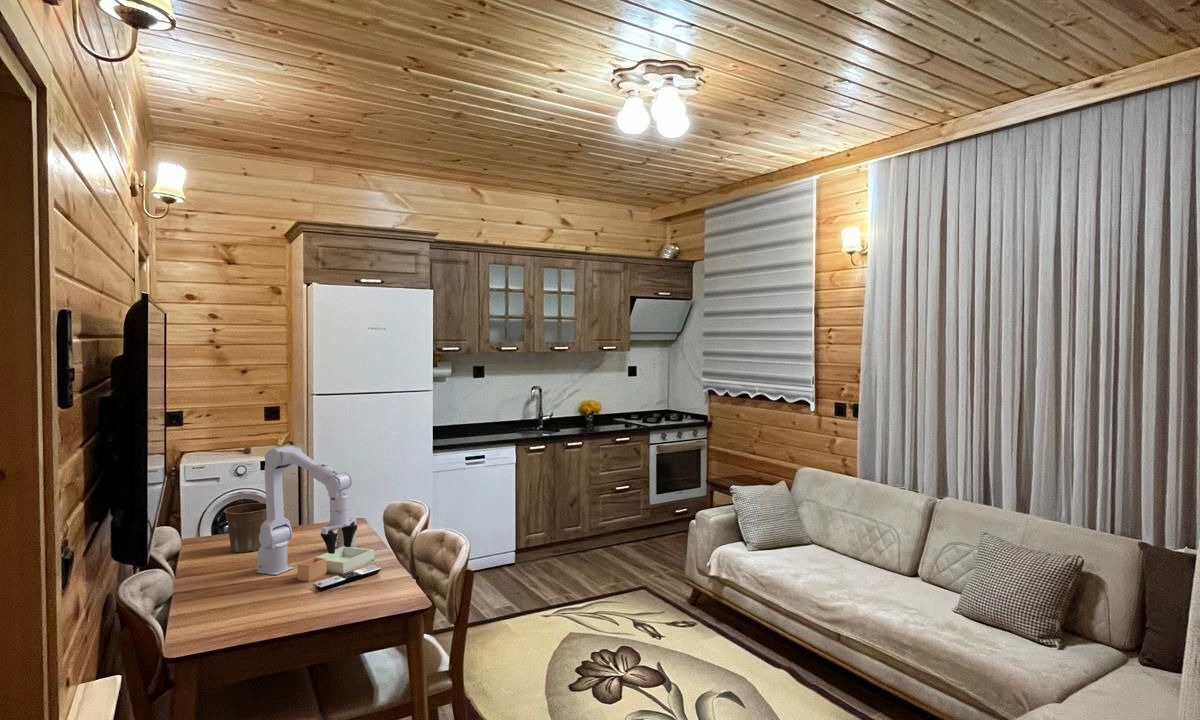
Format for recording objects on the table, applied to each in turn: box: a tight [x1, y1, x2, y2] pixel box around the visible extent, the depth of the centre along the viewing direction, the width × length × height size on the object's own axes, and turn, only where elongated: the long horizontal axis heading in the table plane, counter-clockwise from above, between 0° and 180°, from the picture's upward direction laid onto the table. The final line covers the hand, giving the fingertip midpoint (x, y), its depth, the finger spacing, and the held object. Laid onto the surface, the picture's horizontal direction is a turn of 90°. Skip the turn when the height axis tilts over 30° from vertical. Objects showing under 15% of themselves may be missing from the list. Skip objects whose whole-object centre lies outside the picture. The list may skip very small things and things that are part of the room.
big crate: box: [316, 546, 375, 575], centre depth 243 cm, size 14×16×4 cm
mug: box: [335, 523, 358, 549], centre depth 263 cm, size 8×12×12 cm, turn 125°
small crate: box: [296, 556, 328, 583], centre depth 230 cm, size 5×8×6 cm, turn 159°
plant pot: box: [223, 502, 267, 553], centre depth 264 cm, size 16×16×16 cm
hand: (339, 550), depth 227 cm, fingers open, 7 cm apart
